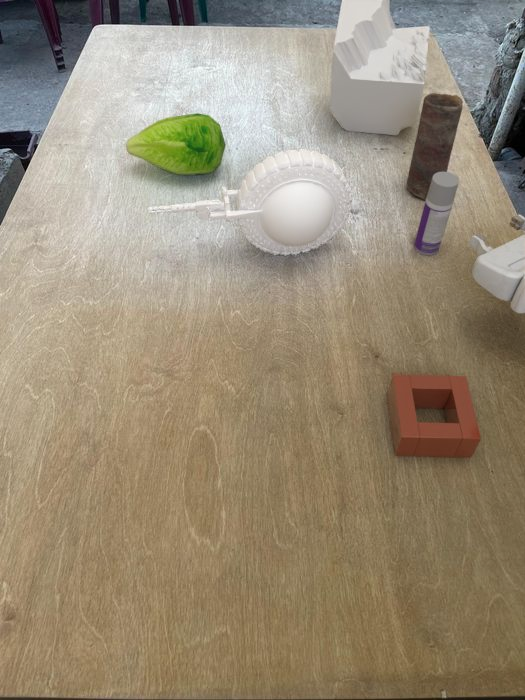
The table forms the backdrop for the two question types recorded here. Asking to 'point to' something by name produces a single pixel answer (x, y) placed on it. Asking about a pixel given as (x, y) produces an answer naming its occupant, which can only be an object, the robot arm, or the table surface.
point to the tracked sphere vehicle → (283, 203)
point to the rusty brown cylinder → (433, 140)
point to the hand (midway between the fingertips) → (493, 228)
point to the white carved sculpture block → (376, 69)
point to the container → (436, 212)
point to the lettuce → (181, 144)
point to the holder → (432, 437)
